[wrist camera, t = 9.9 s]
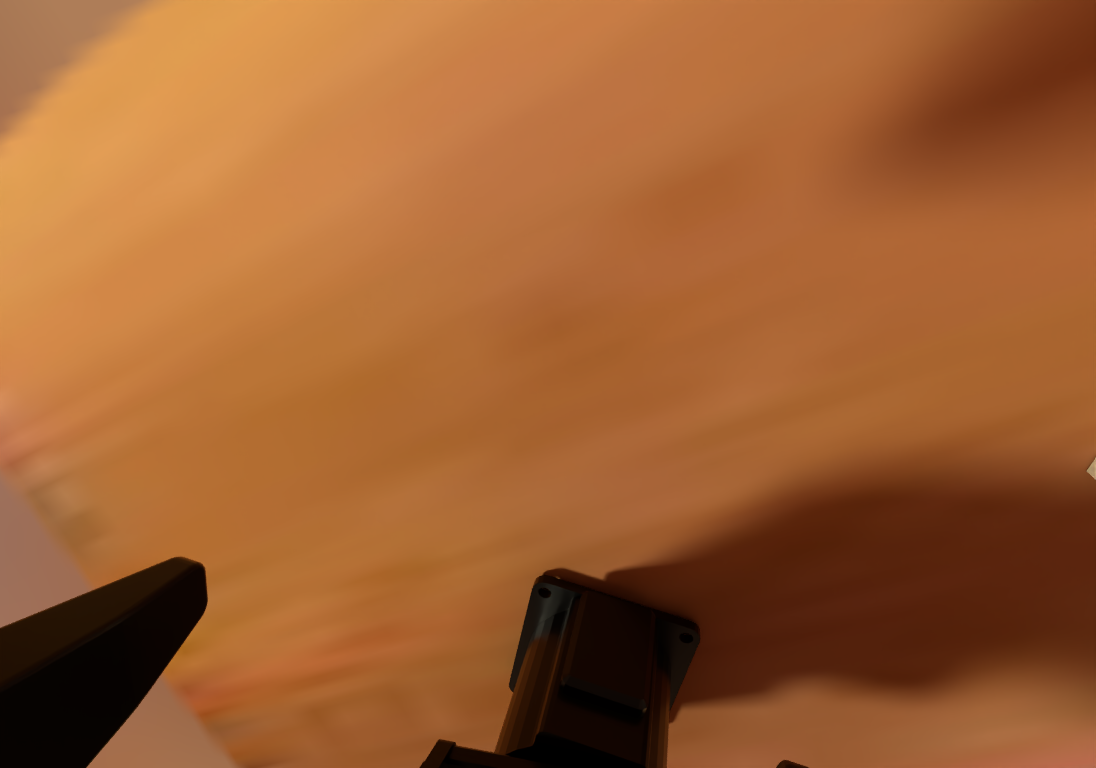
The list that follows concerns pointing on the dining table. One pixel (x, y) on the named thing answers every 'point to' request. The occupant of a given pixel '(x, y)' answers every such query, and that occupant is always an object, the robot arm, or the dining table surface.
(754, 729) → the dining table surface
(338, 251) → the dining table surface
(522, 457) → the dining table surface
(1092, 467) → the cream base plate
